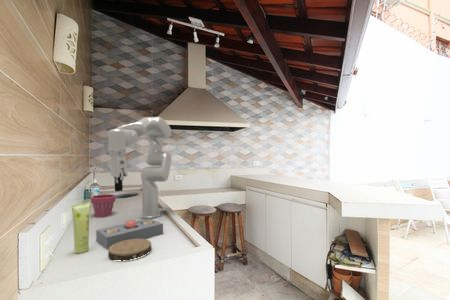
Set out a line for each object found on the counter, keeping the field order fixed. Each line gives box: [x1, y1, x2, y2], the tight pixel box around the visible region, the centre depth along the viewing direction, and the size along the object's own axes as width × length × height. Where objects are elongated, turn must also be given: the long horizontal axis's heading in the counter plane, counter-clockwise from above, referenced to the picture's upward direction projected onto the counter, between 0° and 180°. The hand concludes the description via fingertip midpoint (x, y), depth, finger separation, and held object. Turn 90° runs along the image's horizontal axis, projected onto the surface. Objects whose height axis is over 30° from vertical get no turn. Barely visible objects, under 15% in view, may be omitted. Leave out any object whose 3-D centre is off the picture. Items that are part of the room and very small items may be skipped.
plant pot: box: [90, 193, 116, 218], centre depth 152 cm, size 14×14×13 cm
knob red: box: [125, 219, 137, 229], centre depth 111 cm, size 4×4×4 cm
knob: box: [107, 229, 118, 234], centre depth 105 cm, size 4×4×4 cm
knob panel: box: [95, 218, 164, 250], centre depth 111 cm, size 26×14×5 cm, turn 135°
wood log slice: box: [107, 239, 152, 261], centre depth 93 cm, size 16×16×3 cm
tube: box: [71, 201, 91, 254], centre depth 95 cm, size 6×5×20 cm
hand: (118, 190), depth 116 cm, fingers closed
